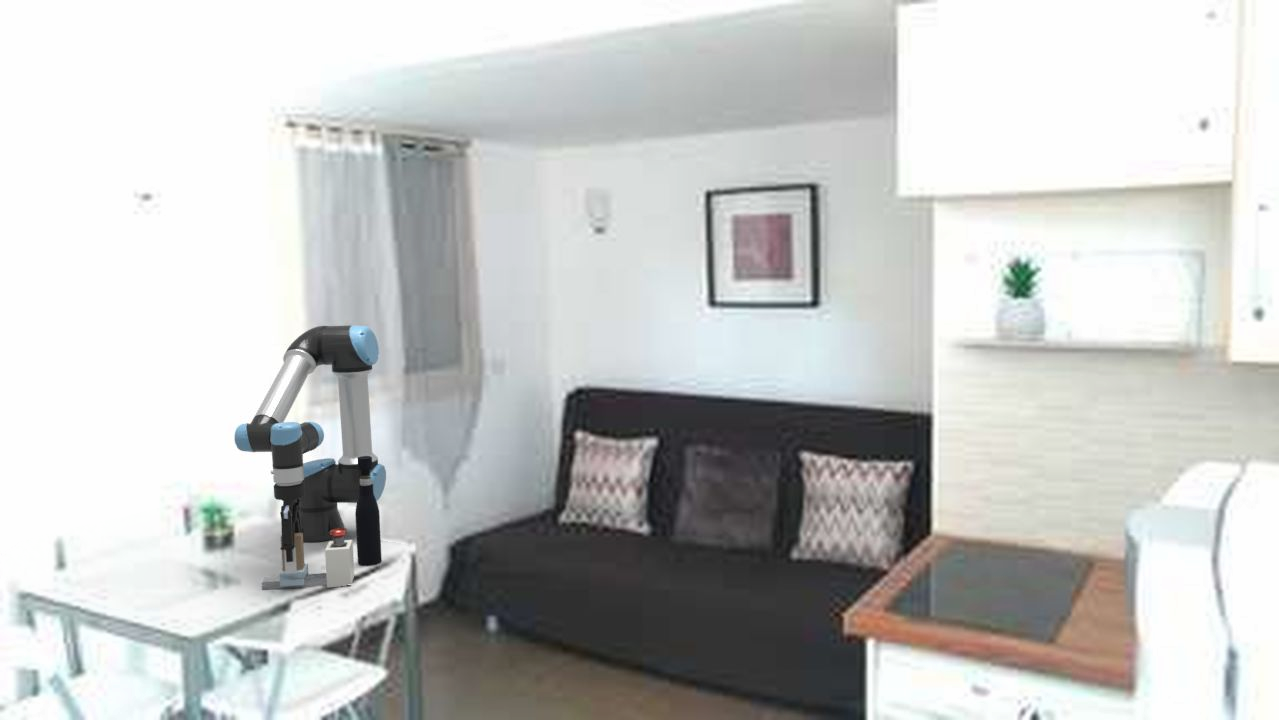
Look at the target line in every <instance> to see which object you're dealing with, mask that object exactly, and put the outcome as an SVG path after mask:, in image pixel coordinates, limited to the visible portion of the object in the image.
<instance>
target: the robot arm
mask: <svg viewBox="0 0 1279 720" xmlns="http://www.w3.org/2000/svg"><path fill="white" fill-rule="evenodd" d="M379 355H380V348H379V342H378V340H377V336H376V335H375V332H374V331H373V330H372V329H371V328H370V327H368V326H366V325H356V324H355V325H353V324H351V325H349V324H348V325H318V326H315V327H312V328H310V329H308V330H306V331H305V332H303V333H302V334H300V335H299V336H298V337H297V338H296V339H294V340H293V342H292V343H290V345H289V346H288V347H287V349H286V351H285V353H284V354H283V357H282V358H283V359H282V360H283V364H282V366H281V368H280V370H279V371H278V373H277V375H276V376H275V378H274V380H273V382H272V384H271V386H270V388H269V390H267V393H266V395H265V397H264V398H263V400H262V403H261V404H260V406H259V408H258V409H257V411H256V414H255V415H254V417H253V418H252V420H251V422H250V423H248V422H247V423H242V424H240V425H238V426H237V428H236V429H235V432H234V444H235V446H236V448H237V449H238V450H239V451H241V452H246V453H247V452H249V453H270V452H271V457H272V458H271V459H272V465H271V466H272V470H271V471H270V474H271V475H273V476H272V477H273V479H272V480H273V483H274V485H273V496H274V499H276V500H279V501H283V503H282V505H281V507H280V513H279V514H280V520H281V521H280V522H281V524H280V525H281V536H282V547H281V546H280V550H281V551H282V550H284V557H285V574H291V573H297V565H296V548H295V546H294V533H303V543H305V542H306V543H310V542H311V543H317V542H326V541H332V540H333V536H331V535H330V530H332V529H335V528H345V524H344V522H343V520H342V516H341V513H340V511H339V509H338V503H339V504H340V503H347V504H355V503H356V504H357V501H358V498H359V485H360V481H359V480H360V478H362V477H361V470H358V460H357V458H358V457H361V456H371V457H372V469H370V476H369V477H371V479H372V480H371V481H372V484H373V494H374V496H375V499H376V501H379V500H380V498H381V497H382V495H383V493H384V490H385V486H386V480H387V470H386V466H384V465H383V464H382V463H379V458H378V456H377V455H376V454H374V452H373V442H372V441H373V440H372V428H371V427H372V426H371V425H372V424H371V413H370V394H369V392H370V391H369V380H368V379H369V377H368V376H369V374H370V373H371V372H372V371H373V365H375V364H376V363H377V362H378V360H379ZM323 365H325V366H327V365H328V366H331V372H332V373H333V374H334V375H335V376H336V378H337V385H338V398H339V399H338V400H339V413H340V415H339V416H340V428H341V443H342V446H341V447H342V456H341V457H340V458H339V459H338V460H337V462H336V460H335V459H334V458H332V457H331V458H328V457H327V458H319V459H315V460H310V461H307V462H304V454H306V453H309V452H312V451H315V449H317V448H318V447H320V446H321V444H323V442H324V438H325V432H324V430H323V428H322V426H321V425H320V424H318V422H315V421H305V422H302V423H299V422H297V421H296V422H295V421H285V420H286V419H287V417H288V415H289V412H290V411H291V409H292V407H293V405H294V403H295V401H296V399H297V397H298V396H299V393H300V392H301V389H302V387H303V386H304V384H305V382H306V380H307V378H308V376H309V375H310V374H312V373H314V372H315V370H316V369H317V367H318V366H323Z"/></svg>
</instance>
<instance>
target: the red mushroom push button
mask: <svg viewBox="0 0 1279 720" xmlns="http://www.w3.org/2000/svg"><path fill="white" fill-rule="evenodd" d="M346 534H347V528H345V527H344V528H335V529H332V530H330V535H331V536H333V539H332V541H333V547H345V544H344V540H345V535H346Z"/></svg>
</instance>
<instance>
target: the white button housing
mask: <svg viewBox="0 0 1279 720" xmlns="http://www.w3.org/2000/svg"><path fill="white" fill-rule="evenodd" d="M353 542H354V541H353V539H346V540H345V539H344V544H345V547H333V540H328V543H327V545H326V548H325V550H324V556H325V558H324V559H325V573H326V578H327V585H326V588H328V589H329V588H342V587H341V586H343V587H346V586H345V585H348V584H351V583H352V584H353V581H354V578H355V565H354V564H355V561H354V545H353V544H354V543H353ZM352 584H351V585H352Z"/></svg>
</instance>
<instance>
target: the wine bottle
mask: <svg viewBox="0 0 1279 720" xmlns="http://www.w3.org/2000/svg"><path fill="white" fill-rule="evenodd" d="M357 460H358V470H361V477H362V478H360V480H359V481H360V485H359V498H358V501H357V503H356V506H355V513H354V514H355V530H356V531H355V532H356V533H355V534H356V550H357V551H356V553H357V564H358V565H359V566H361V567H372V566H376V565H379V564H381V563H382V561H383V560H382V541H381V539H382V538H381V522H380V521H381V520H380V508H379V505H378V502H377V501H378V500H377V501H376V499H375V496H374V494H373V484H372V481H371V480H372V479H371V477H369V476H370V469H372V457H371V456H361V457H358V458H357Z"/></svg>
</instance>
